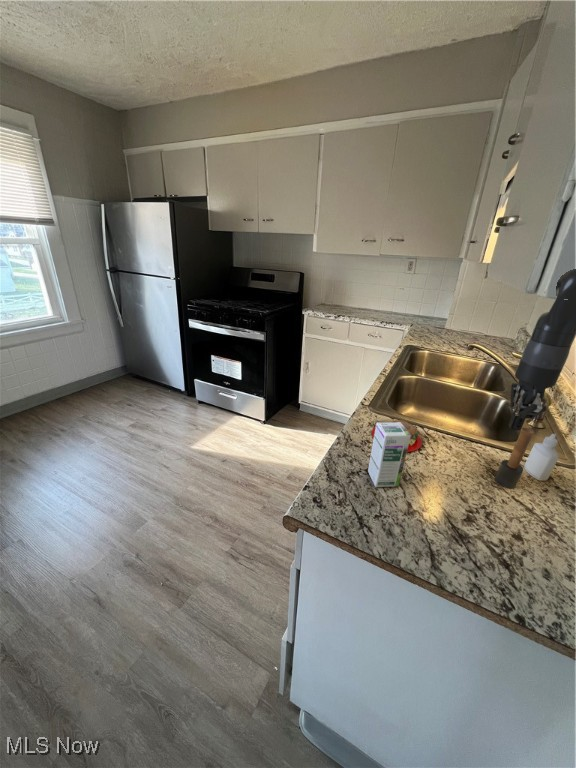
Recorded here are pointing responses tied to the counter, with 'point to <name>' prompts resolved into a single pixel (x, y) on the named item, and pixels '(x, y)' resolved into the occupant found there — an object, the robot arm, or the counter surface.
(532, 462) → the eye dropper bottle
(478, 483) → the counter surface
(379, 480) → the syrup box
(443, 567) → the counter surface
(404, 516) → the counter surface
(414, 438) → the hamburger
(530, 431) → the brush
